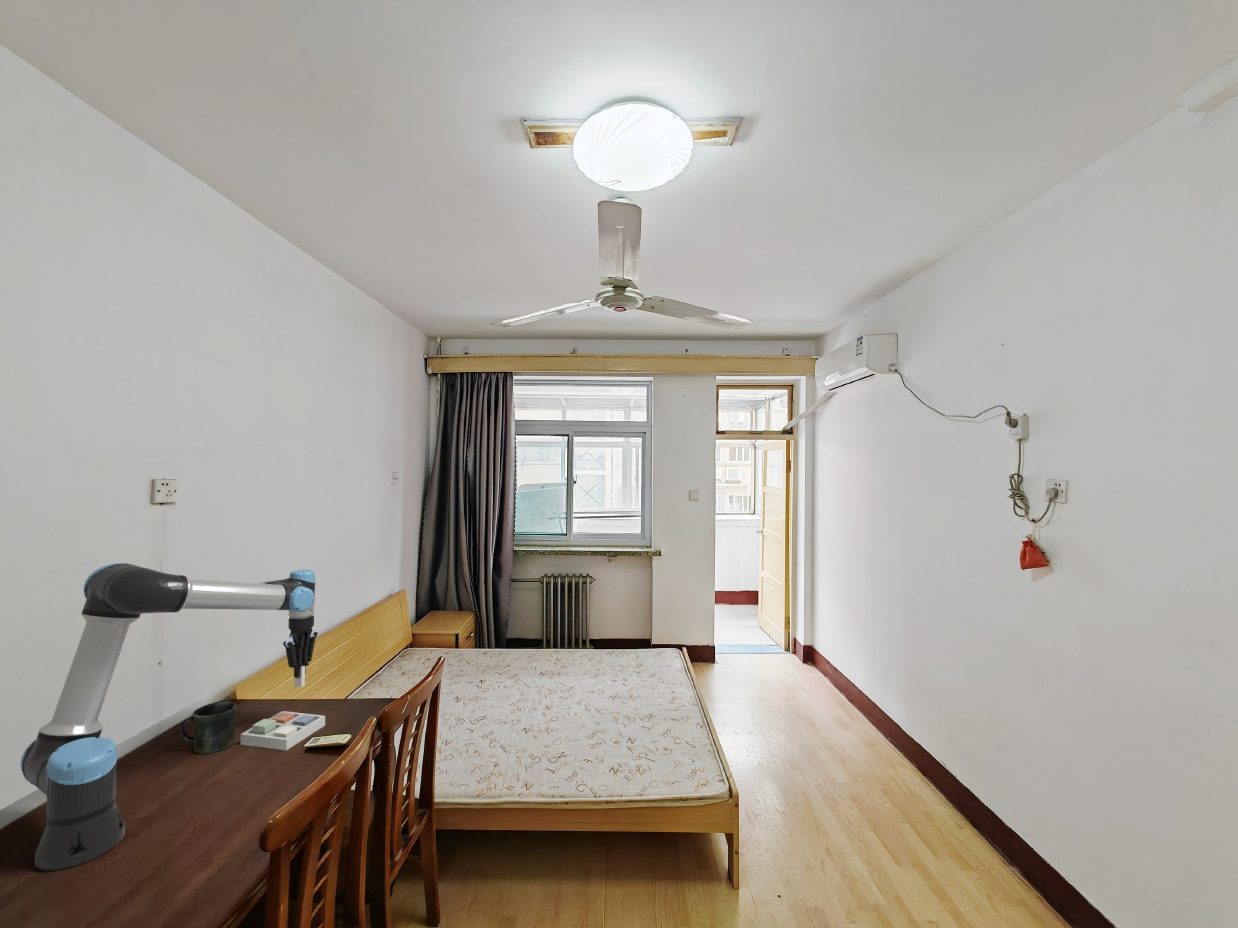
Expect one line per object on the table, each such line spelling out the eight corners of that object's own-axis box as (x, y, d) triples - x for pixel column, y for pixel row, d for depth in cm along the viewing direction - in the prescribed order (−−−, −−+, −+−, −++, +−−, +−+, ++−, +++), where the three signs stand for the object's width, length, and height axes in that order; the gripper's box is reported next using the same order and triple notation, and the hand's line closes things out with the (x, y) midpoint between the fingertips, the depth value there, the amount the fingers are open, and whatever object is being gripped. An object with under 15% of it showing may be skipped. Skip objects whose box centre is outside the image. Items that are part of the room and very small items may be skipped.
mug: (232, 750, 173) (232, 712, 173) (174, 760, 167) (174, 720, 167) (239, 735, 183) (239, 698, 183) (184, 743, 177) (185, 706, 177)
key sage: (264, 736, 178) (264, 726, 178) (252, 734, 178) (252, 724, 178) (275, 729, 182) (276, 719, 182) (263, 727, 183) (264, 718, 183)
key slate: (304, 731, 184) (304, 722, 184) (292, 730, 185) (292, 720, 185) (314, 725, 188) (314, 716, 188) (303, 723, 189) (303, 714, 189)
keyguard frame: (286, 750, 174) (286, 739, 174) (240, 744, 177) (240, 733, 177) (325, 725, 190) (325, 715, 190) (282, 720, 193) (282, 710, 193)
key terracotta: (283, 729, 185) (284, 719, 185) (272, 727, 186) (272, 718, 186) (294, 722, 190) (294, 713, 190) (282, 721, 191) (283, 712, 191)
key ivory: (285, 743, 176) (286, 733, 176) (273, 741, 177) (273, 732, 177) (296, 736, 181) (297, 727, 181) (284, 735, 181) (284, 725, 181)
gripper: (296, 621, 180) (294, 694, 180) (325, 612, 193) (323, 679, 193) (276, 620, 182) (274, 692, 181) (306, 610, 195) (304, 677, 194)
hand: (299, 685), depth 187 cm, fingers closed
